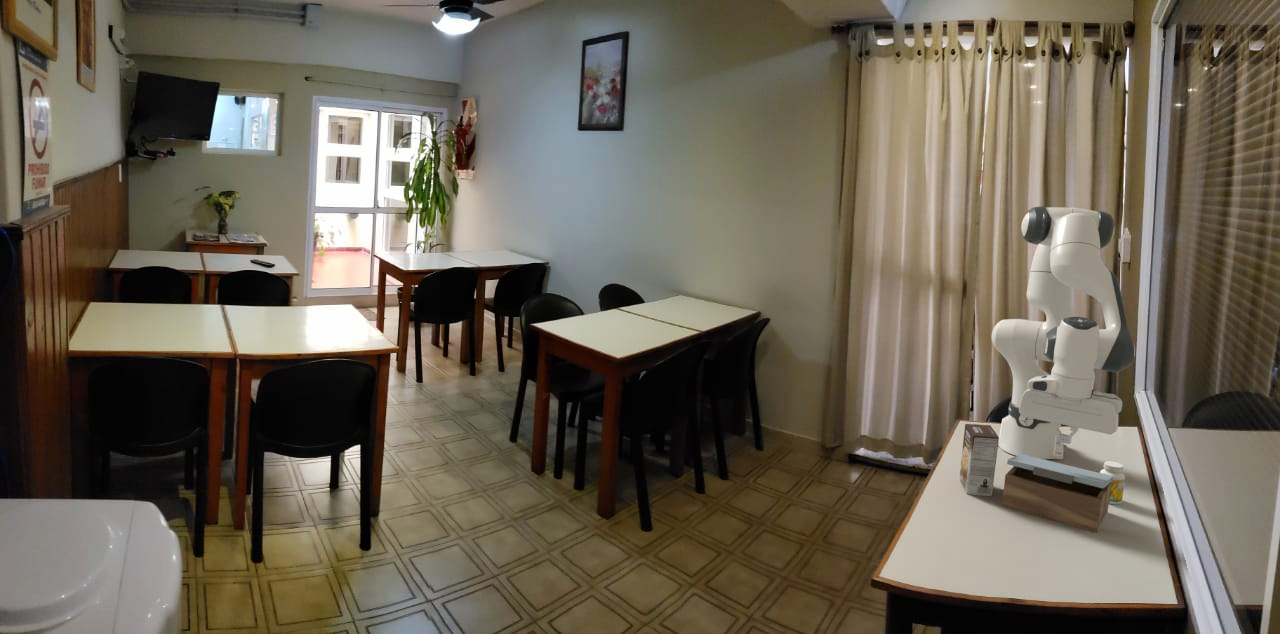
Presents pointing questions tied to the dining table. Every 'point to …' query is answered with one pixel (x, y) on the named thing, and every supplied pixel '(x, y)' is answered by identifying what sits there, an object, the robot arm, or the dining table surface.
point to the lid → (1060, 471)
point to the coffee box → (978, 459)
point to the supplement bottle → (1115, 480)
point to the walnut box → (1056, 499)
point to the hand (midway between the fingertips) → (1063, 442)
